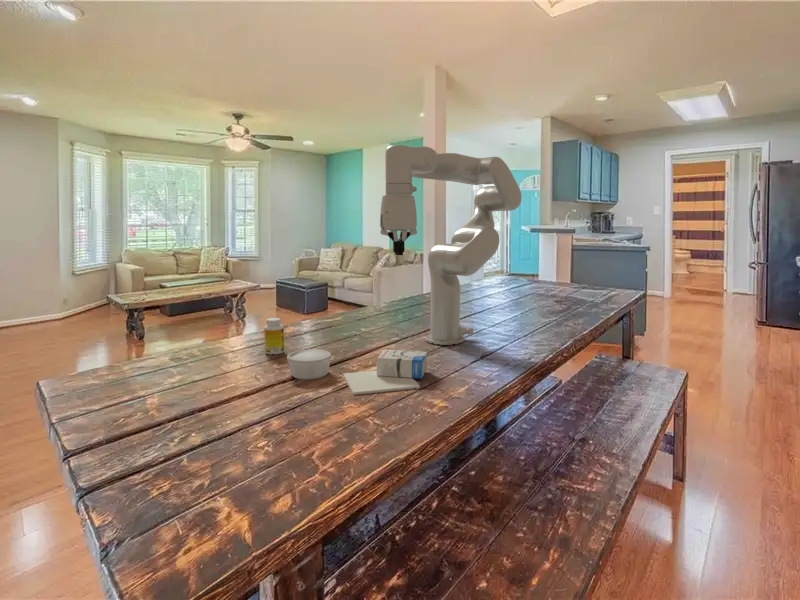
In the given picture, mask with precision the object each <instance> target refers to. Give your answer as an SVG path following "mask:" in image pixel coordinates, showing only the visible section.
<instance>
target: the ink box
mask: <svg viewBox="0 0 800 600" xmlns="http://www.w3.org/2000/svg"><path fill="white" fill-rule="evenodd" d="M376 359H377V360H376V371H377V376H390V377H405V378H413V379H419V380H420V379H423V377H424V375H425V373H426V371H427V369H428V351H419V350H417V351H415V350H403V349H401V350H400V349H389V348H387V349H386V348H385V349H383V350H382V352H381V353H380V354H379V355H378V357H377V358H376Z"/></svg>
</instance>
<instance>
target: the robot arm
mask: <svg viewBox="0 0 800 600" xmlns="http://www.w3.org/2000/svg"><path fill="white" fill-rule="evenodd" d="M413 178H415V179H416V178H417V179H426V180H427V179H428V180H436V181H442V182H443V181H444V182H453V183H460V184H466V185H471V186H483V185H486V186H483V187H481V188H479V189H478V190H477V192H476V193H475V196H474V199H473V215H472V216H471V218H470V219H469V220H468V221H466V223H464V224H463V225H462V226H461V227H460V228H459V229H457V230H456V231H455V233H454V234H453V236H452V238H451V242H450V243H438V244H436V245H434V246H433V247H432V248H430V250H429V251H428V255H427V264H428V270H429V276H430V320H429V322H430V323H429V324H430V326H429V329H430V331H429V333H428V334H427V335H426V336H425V337H424V338H425V341H426V342H427V343H430V344H432V343H433V345H438V344H439V345H440V346H453V344H455V345H459V343H460V344H462V343H464V342H465V337H464V336H465V335H473V334H474V329H473V327H469V328H467V327H463V326H461V325H460V324H461V323H460V320H461V319H460V317H461V315H460V314H461V283H460V280H459V277H458V276H461V277H469V276H472V275H474V274H476V273H477V272H478V271H479V270H480V269H481V268H482V267H484V265H485V264H486V263H487V262H489V260H490V259H492V257H493V256H495V254H496V253H497V251H498V249H499V245H500V234H499V233H498V231H497V229H495V220H494V218H493V217H494V215H493V212H511V211H515V210H517V209H518V208H519V207H520V205H521V202H522V197H523V196H522V192H521V188H520V186H519V185H518V182H517V180H516V179H515V177H514V175H513V173H512V171H511V170H510V168H509V166H508V165H507V163H506V162H505V161H504V160H503V159H502V158H501V157H499V156H490V157H489V156H487V157H475V156H474V157H473V156H469V155H465V154H460V153H456V152H443V153H438V152H436V150H435V149H433V148H432V147H430V146H409V145H406V144H405V145H404V144H395V145H388V146H387V147H386V149H385V195H382V197H381V205H380V214H379V215H380V219H379V227H380V235H383V236H387V237H389V239H390V240H391V241H392V253H394V255H395V256H403V255H404V253H405V242H406V240H408V238H409V237H410V236H414V235H416V234H417V233H418V231H417V227H418V217H417V216H418V214H417V206H416V199H415V195H413V193H414V192H417V190H418V189H417V188H418V187H417V186H414V185H413ZM398 231H399V236H398ZM439 345H438V346H439Z"/></svg>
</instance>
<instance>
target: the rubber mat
mask: <svg viewBox="0 0 800 600" xmlns="http://www.w3.org/2000/svg"><path fill="white" fill-rule="evenodd" d="M342 376H343V378H344V380H345V382H346V384H347V386H348V387H349V389H350V391H351V393H352V395H353V396H355V395H365V394H375V393H377V394H378V393H385V392H395V391H404V390H405V389H407V390H414V388H416V389H420V388H421V386H420V384H419V383H418V382H417V381H416V380H415V378H405V377H390V376H377V370H369V371H368V370H367V371H359V372H358V371H357V372H344V373H342ZM405 391H406V390H405Z"/></svg>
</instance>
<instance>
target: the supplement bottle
mask: <svg viewBox="0 0 800 600" xmlns="http://www.w3.org/2000/svg"><path fill="white" fill-rule="evenodd" d="M281 322H282V321H281V318H280V317H279V318H278V317H271V318H266V325H264V327H263V331H264V332H263V333H264V337H263V338H264V351H265V353H266V354H267V355H272V354H274V355H280V354H283V353H284V352H285V339H284V337H285V333H284V325H282V324H281Z"/></svg>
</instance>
